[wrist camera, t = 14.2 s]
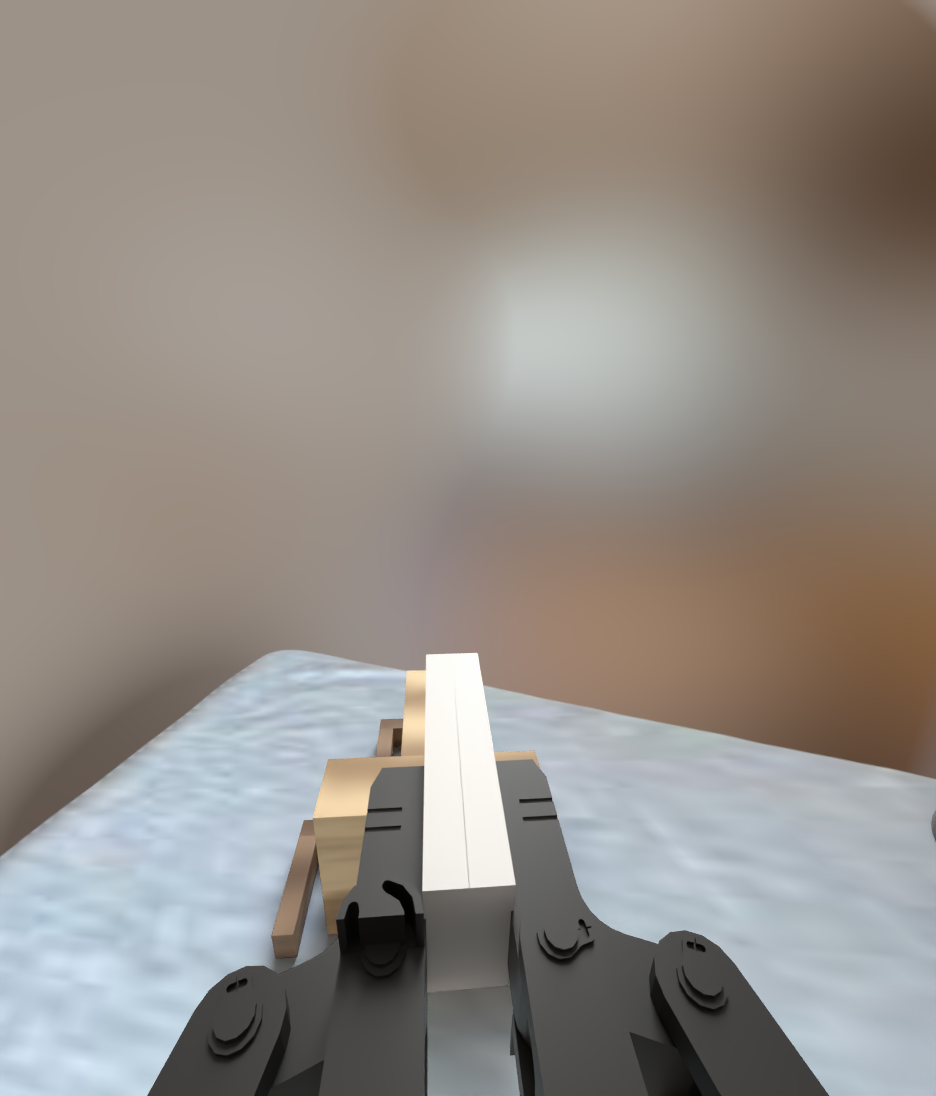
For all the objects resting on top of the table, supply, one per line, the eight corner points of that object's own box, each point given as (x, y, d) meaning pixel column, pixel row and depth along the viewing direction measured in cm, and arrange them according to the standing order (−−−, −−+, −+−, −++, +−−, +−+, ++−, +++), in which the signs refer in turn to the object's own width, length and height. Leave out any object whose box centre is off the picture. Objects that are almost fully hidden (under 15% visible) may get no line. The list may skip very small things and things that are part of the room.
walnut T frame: (574, 936, 35) (578, 914, 34) (275, 958, 33) (271, 935, 33) (522, 731, 55) (523, 714, 54) (333, 738, 53) (331, 721, 53)
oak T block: (536, 919, 36) (550, 805, 32) (327, 934, 35) (312, 817, 31) (505, 760, 51) (511, 668, 47) (357, 766, 50) (350, 672, 46)
